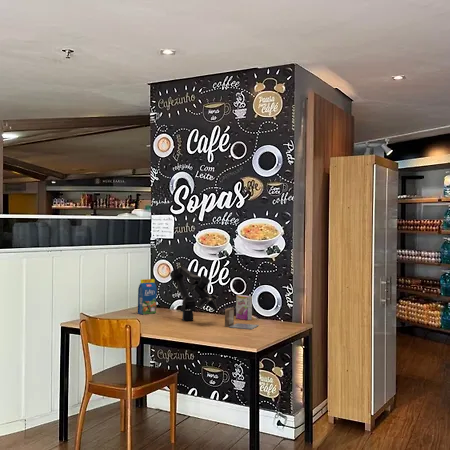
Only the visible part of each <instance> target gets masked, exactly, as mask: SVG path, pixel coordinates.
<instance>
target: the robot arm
mask: <svg viewBox="0 0 450 450" xmlns="http://www.w3.org/2000/svg"><path fill="white" fill-rule="evenodd" d="M169 276H170V278H171V280H172V281H173V282H174V283H176V286H177V289H178V290H179V293H180V295H181V298H182V302H181V307H180V308H179V309H180V312H182V319H181V320H182V322H183V321H184V322H193V321H194V313H193V312H195V311H196V308H199V309H203V308H204V305H205V303H206V305H205V307H210V308H212V310H214V311H218V309H219V308H218V306H217V302H216V301H217V300H218V298H219V297H218V295H212V294H209V292H208V291H209V290H206V287H208V285H209V284H210V283H211V282H210V281H211V280H210V279H209V278H208V276H206V275H202V276H199V275H197V274H194V273H193V272H191V271H190V270H189V269H187V267H185V266H179V267H178V268H176V269H173V270H171V271H170V273H169ZM184 278H185V279H187V280H188V283H189V284H190V285H191V286H193V287H192V293H193V292H195V293H196V294H197V295H198V298H199V300H198V301H196V300H195V298H194V296H190V294H189V291H188V289H187V287H186V285H185V282H184Z"/></svg>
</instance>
